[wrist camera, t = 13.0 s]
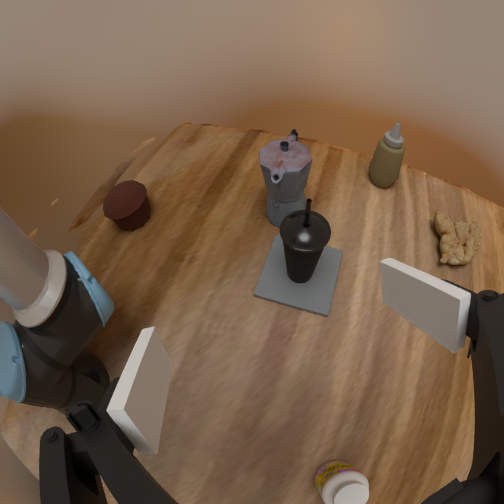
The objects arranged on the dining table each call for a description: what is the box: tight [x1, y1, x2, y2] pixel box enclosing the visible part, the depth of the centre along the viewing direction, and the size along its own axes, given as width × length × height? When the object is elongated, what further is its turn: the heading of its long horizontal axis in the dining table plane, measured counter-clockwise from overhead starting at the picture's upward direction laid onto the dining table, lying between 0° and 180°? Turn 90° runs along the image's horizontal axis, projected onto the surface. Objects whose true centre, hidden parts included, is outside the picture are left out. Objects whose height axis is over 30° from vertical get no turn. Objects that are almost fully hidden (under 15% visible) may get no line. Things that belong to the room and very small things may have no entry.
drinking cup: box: [280, 199, 331, 283], centre depth 44 cm, size 8×8×20 cm
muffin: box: [103, 180, 151, 231], centre depth 60 cm, size 12×11×10 cm
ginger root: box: [434, 211, 481, 265], centre depth 50 cm, size 16×16×8 cm
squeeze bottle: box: [369, 123, 404, 188], centre depth 57 cm, size 8×8×18 cm
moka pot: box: [259, 129, 312, 227], centre depth 53 cm, size 10×15×20 cm, turn 165°
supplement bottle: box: [315, 461, 369, 504], centre depth 27 cm, size 7×7×13 cm
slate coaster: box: [254, 234, 343, 317], centre depth 53 cm, size 14×14×1 cm
